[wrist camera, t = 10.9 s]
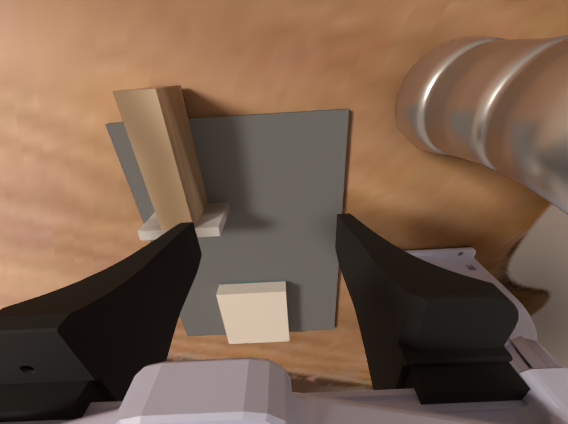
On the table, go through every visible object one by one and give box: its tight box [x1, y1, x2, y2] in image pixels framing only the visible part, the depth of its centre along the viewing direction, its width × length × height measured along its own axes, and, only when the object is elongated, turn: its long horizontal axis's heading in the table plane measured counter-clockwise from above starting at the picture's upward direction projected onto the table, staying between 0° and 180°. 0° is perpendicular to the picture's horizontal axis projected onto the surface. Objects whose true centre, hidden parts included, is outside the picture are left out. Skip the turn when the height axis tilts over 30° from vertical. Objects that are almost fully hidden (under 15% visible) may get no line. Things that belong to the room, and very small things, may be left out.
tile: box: [216, 281, 289, 344], centre depth 28 cm, size 7×2×8 cm
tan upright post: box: [113, 86, 230, 240], centre depth 18 cm, size 6×10×4 cm, turn 3°
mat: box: [105, 109, 349, 336], centre depth 25 cm, size 18×25×1 cm
